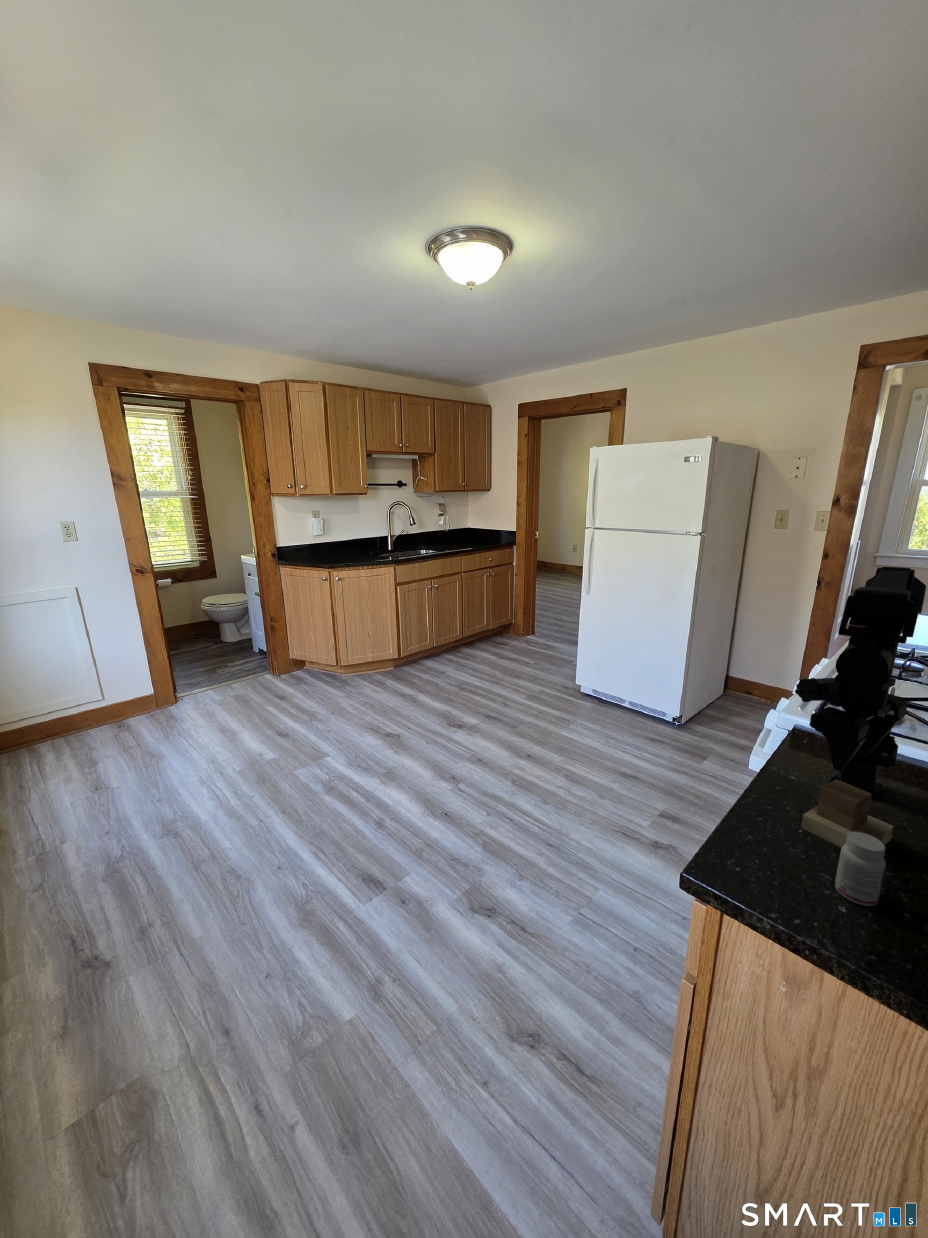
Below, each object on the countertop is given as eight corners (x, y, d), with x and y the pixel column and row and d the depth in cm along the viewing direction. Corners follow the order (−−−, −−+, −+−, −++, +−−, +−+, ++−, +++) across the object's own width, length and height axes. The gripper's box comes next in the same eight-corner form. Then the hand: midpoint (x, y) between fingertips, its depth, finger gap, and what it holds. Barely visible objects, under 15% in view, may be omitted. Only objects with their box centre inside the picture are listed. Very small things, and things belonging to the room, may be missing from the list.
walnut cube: (832, 805, 82) (836, 779, 81) (866, 821, 78) (872, 794, 77) (816, 814, 80) (820, 787, 79) (851, 831, 76) (856, 803, 75)
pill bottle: (886, 910, 64) (898, 855, 62) (846, 904, 65) (856, 851, 63) (865, 883, 68) (875, 832, 66) (827, 878, 69) (836, 828, 67)
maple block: (826, 813, 85) (829, 798, 84) (890, 842, 77) (893, 826, 77) (800, 830, 81) (803, 814, 80) (865, 863, 73) (868, 846, 72)
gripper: (835, 649, 85) (821, 729, 89) (780, 666, 76) (767, 756, 79) (916, 665, 76) (898, 755, 79) (865, 687, 67) (847, 788, 70)
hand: (850, 762), depth 77 cm, fingers open, 9 cm apart
